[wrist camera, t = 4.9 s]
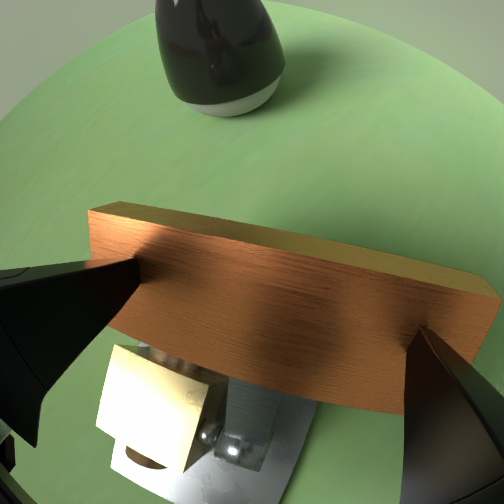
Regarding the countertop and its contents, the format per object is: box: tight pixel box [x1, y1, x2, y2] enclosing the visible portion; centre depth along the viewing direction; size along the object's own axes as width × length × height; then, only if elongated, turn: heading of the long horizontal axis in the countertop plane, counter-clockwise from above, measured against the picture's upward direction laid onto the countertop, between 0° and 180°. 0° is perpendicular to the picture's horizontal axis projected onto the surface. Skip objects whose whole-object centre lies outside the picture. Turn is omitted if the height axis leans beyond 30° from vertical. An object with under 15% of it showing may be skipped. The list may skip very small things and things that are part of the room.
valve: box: [96, 341, 318, 504], centre depth 14 cm, size 17×12×4 cm
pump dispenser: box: [155, 0, 285, 117], centre depth 17 cm, size 10×10×15 cm
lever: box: [88, 201, 502, 472], centre depth 10 cm, size 3×14×12 cm
